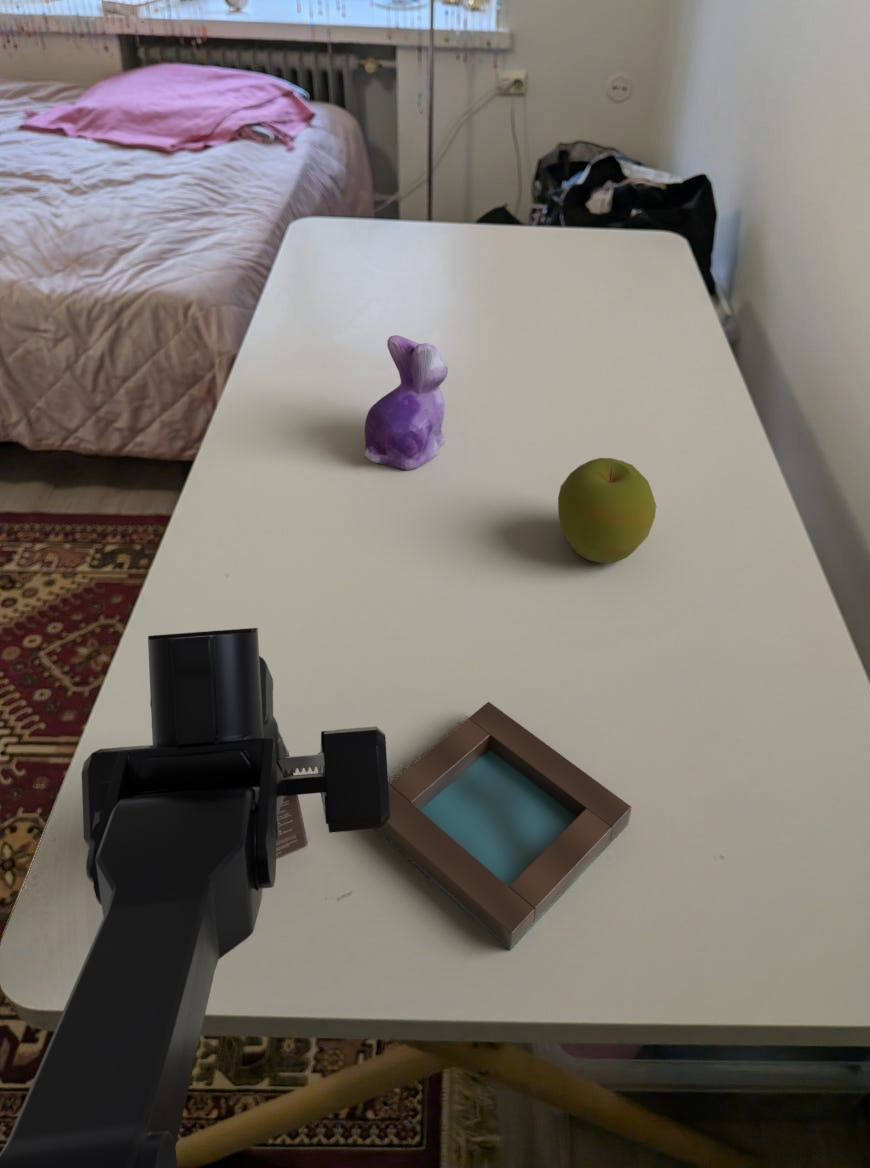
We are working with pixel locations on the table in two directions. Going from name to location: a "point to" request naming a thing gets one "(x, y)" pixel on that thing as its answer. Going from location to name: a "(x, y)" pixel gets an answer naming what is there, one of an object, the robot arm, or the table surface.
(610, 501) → the apple
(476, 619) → the table surface
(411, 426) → the figurine
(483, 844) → the socket
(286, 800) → the box
